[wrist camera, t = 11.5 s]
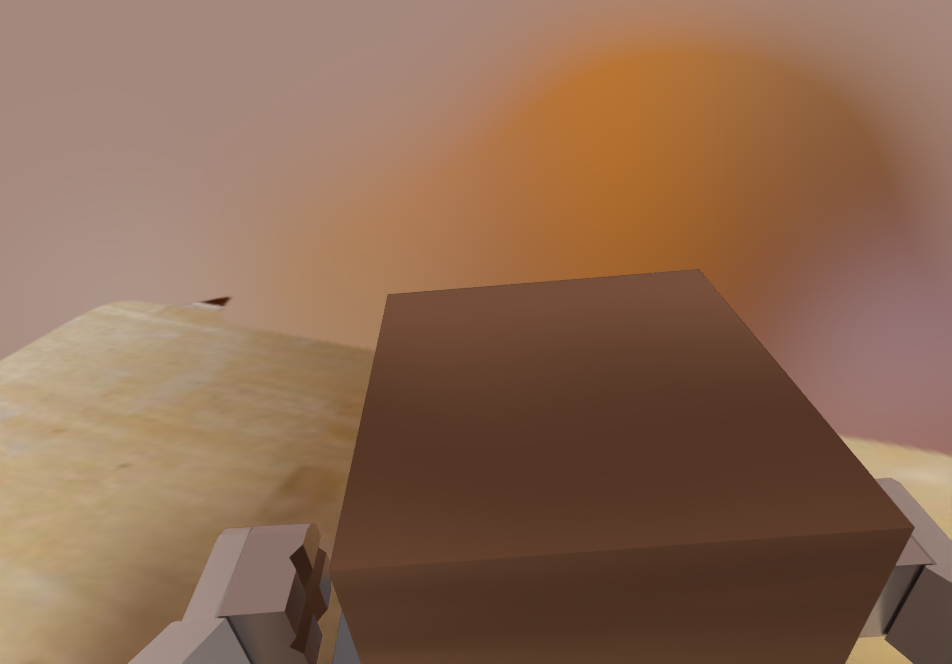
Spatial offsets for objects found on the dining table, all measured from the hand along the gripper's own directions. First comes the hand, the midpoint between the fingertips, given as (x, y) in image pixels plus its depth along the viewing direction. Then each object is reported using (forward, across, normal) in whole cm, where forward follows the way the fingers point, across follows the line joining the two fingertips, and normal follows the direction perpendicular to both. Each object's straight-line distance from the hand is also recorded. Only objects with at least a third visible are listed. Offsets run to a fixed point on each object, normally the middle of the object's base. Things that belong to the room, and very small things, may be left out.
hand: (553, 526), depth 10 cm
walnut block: (-1, 0, +8) cm, 8 cm away
